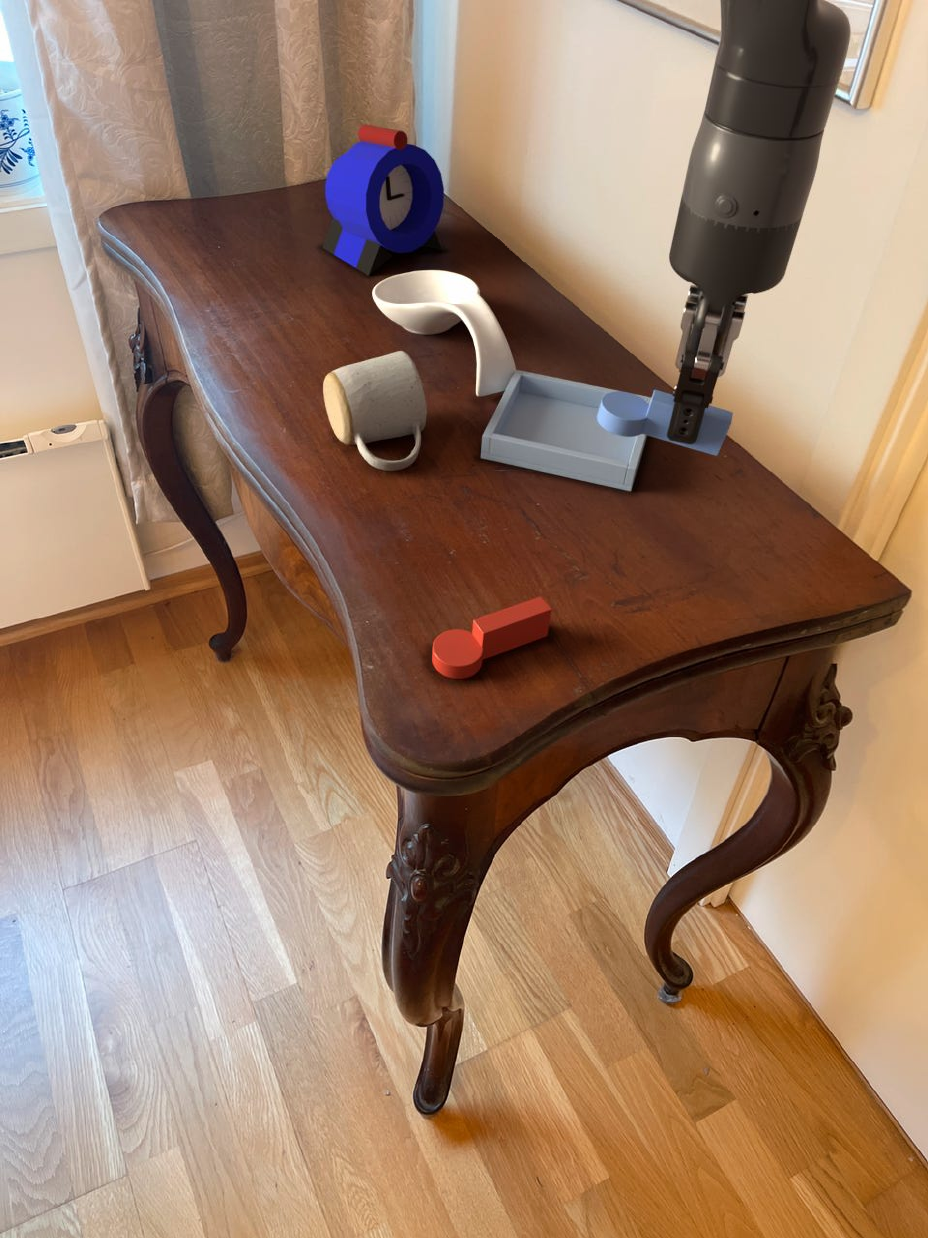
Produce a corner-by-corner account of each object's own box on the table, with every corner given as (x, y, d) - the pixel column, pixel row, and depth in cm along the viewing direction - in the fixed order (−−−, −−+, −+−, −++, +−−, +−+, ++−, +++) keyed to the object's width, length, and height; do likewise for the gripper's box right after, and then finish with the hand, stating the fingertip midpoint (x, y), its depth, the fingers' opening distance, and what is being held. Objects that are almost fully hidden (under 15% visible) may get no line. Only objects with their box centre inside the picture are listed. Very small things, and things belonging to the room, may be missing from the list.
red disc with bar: (529, 614, 75) (533, 587, 73) (554, 645, 73) (559, 618, 71) (423, 651, 71) (424, 624, 69) (446, 686, 69) (448, 658, 67)
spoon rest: (357, 309, 109) (354, 248, 104) (447, 289, 113) (448, 230, 108) (450, 409, 95) (450, 344, 90) (549, 382, 99) (555, 319, 94)
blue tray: (651, 420, 96) (656, 398, 94) (631, 491, 87) (636, 469, 85) (513, 391, 98) (515, 369, 96) (480, 458, 89) (482, 435, 87)
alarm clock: (371, 277, 114) (369, 147, 103) (312, 241, 120) (305, 115, 109) (447, 252, 120) (452, 126, 109) (387, 219, 126) (387, 97, 116)
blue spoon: (720, 437, 72) (734, 404, 70) (715, 464, 69) (730, 431, 67) (601, 402, 73) (611, 368, 71) (592, 428, 70) (602, 393, 68)
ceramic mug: (320, 421, 92) (316, 351, 86) (397, 404, 95) (398, 335, 89) (360, 484, 86) (359, 413, 80) (441, 464, 88) (445, 394, 83)
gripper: (800, 252, 53) (723, 496, 65) (808, 169, 62) (740, 396, 74) (668, 230, 54) (617, 473, 66) (695, 151, 63) (646, 378, 76)
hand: (682, 432), depth 70 cm, fingers closed on blue spoon, 1 cm apart
